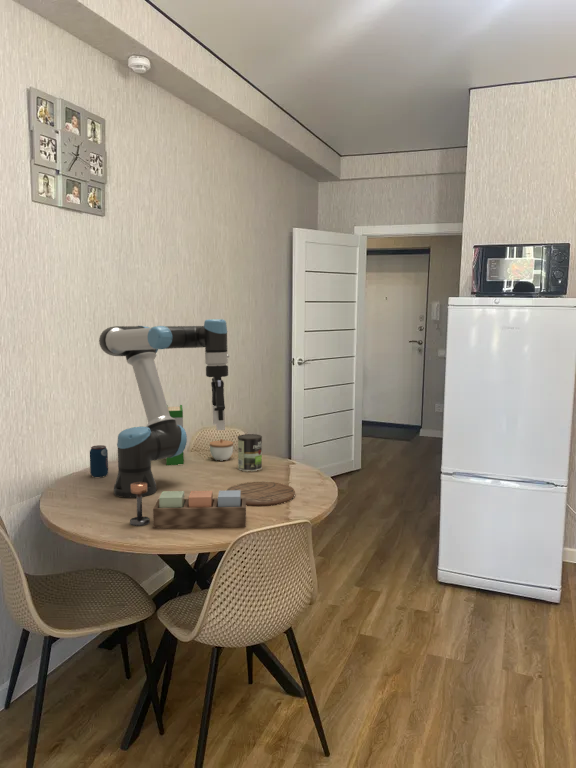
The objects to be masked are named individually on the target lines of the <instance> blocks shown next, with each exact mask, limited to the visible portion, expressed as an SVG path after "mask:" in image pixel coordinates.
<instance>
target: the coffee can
mask: <svg viewBox="0 0 576 768" xmlns="http://www.w3.org/2000/svg"><path fill="white" fill-rule="evenodd" d="M237 440H238V441H237V453H238V454H237V456H238V457H237V465H238V466H237V470H239V471H241V470H242V472H248V471H251V472H258V471H257V470H259V471H261V470H262V469H263V467H262V464H263V461H262V460H263V459H262V455H263V453H262V452H263V446H262V445H263V436H262V435H260V434H257V433H255V434H254V433H252V434H250V433H248V434H247V433H245V434H240V435H238V436H237ZM260 469H261V470H260Z"/></svg>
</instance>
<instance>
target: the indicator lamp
mask: <svg viewBox="0 0 576 768" xmlns="http://www.w3.org/2000/svg"><path fill="white" fill-rule="evenodd" d="M146 492H147V483H146V482H135V483H132V484H131V493H132V494H137V497H136V516H135V517H132V518H131V519H130V520H129V525H130V526H132V527H133V526H134V527H143V526H147V525H149V524H150V522H151V521H150V517H148V516H143V497H142V494H143V493H146Z"/></svg>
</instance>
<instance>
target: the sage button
mask: <svg viewBox="0 0 576 768" xmlns="http://www.w3.org/2000/svg"><path fill="white" fill-rule="evenodd" d="M158 499H159V508H181V507H183V506H184V503H185V499H186V497H185V490H172V491H171V490H170V491H169V490H165V491H162V492H161V494H160V495H159V497H158Z"/></svg>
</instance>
